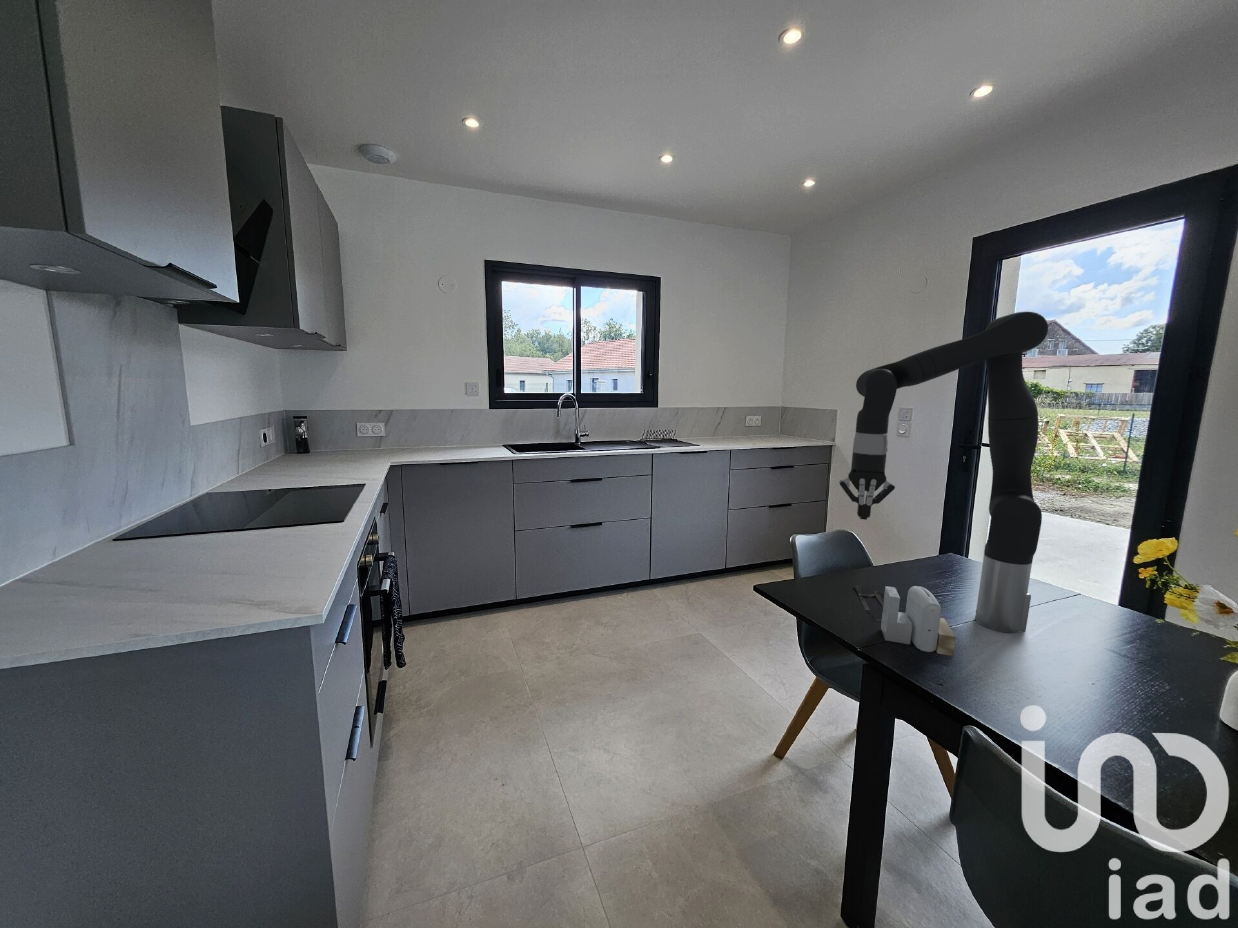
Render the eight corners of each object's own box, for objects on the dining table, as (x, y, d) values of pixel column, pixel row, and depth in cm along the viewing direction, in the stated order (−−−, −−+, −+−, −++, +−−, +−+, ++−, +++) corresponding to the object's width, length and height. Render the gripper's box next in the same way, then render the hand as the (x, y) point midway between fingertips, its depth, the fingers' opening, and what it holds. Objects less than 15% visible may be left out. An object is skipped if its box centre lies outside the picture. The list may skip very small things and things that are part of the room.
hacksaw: (852, 587, 142) (852, 583, 142) (891, 591, 140) (891, 587, 139) (872, 626, 119) (873, 621, 119) (919, 632, 117) (920, 626, 116)
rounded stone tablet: (938, 653, 107) (945, 601, 105) (917, 651, 107) (923, 599, 105) (920, 630, 117) (926, 582, 114) (900, 628, 117) (906, 580, 115)
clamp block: (941, 636, 114) (943, 618, 113) (953, 655, 106) (955, 636, 105) (926, 633, 115) (929, 616, 114) (937, 653, 107) (939, 634, 106)
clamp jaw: (904, 631, 115) (909, 589, 114) (910, 644, 110) (915, 599, 108) (880, 628, 117) (885, 586, 115) (885, 640, 111) (890, 596, 110)
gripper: (896, 450, 121) (889, 517, 124) (839, 447, 125) (833, 512, 128) (903, 454, 114) (895, 525, 117) (841, 451, 118) (835, 519, 121)
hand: (863, 518), depth 123 cm, fingers closed
